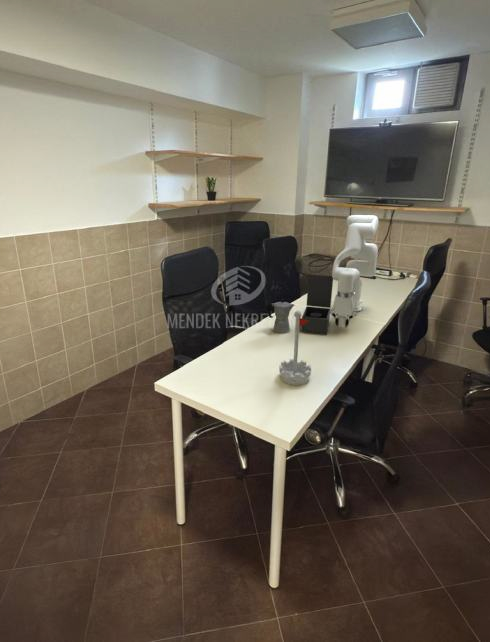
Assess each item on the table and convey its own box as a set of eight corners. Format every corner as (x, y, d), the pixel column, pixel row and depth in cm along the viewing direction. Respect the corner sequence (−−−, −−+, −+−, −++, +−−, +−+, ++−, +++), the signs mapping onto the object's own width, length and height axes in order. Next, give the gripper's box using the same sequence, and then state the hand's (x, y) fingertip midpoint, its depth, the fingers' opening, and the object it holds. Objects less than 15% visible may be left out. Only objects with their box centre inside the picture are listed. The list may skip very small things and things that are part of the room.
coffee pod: (340, 323, 199) (341, 315, 197) (347, 325, 195) (348, 317, 194) (335, 325, 196) (336, 317, 194) (342, 328, 193) (343, 319, 191)
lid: (333, 275, 201) (333, 275, 205) (308, 274, 205) (309, 273, 209) (330, 307, 203) (331, 306, 208) (306, 305, 208) (307, 304, 212)
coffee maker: (326, 334, 191) (327, 319, 188) (301, 331, 195) (302, 316, 192) (329, 322, 207) (330, 308, 204) (305, 320, 211) (306, 306, 208)
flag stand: (289, 389, 141) (292, 319, 132) (273, 373, 153) (275, 308, 143) (316, 382, 146) (321, 313, 137) (299, 367, 158) (302, 303, 148)
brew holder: (313, 326, 202) (314, 311, 199) (322, 329, 197) (323, 314, 195) (307, 329, 198) (308, 314, 195) (316, 332, 194) (317, 317, 191)
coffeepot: (291, 326, 202) (293, 296, 197) (295, 333, 193) (296, 301, 188) (264, 327, 202) (265, 296, 196) (266, 333, 193) (267, 302, 187)
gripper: (361, 293, 191) (357, 325, 196) (328, 290, 196) (326, 321, 202) (361, 297, 184) (357, 330, 190) (327, 294, 189) (325, 326, 195)
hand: (341, 325), depth 196 cm, fingers closed on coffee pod, 4 cm apart
